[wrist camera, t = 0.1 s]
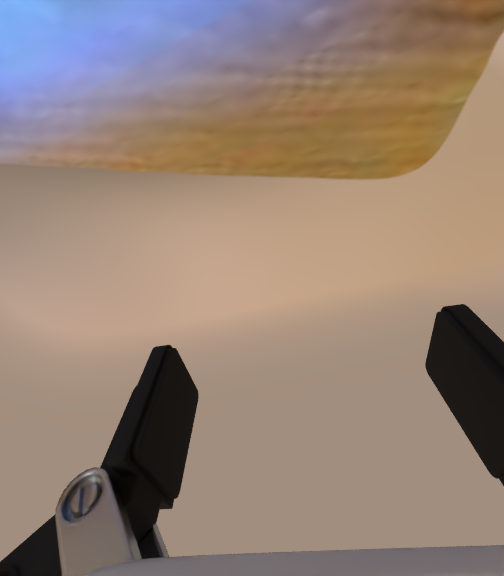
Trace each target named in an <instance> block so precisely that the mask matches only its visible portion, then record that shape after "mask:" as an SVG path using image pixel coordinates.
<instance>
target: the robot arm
mask: <svg viewBox="0 0 504 576" xmlns="http://www.w3.org/2000/svg"><path fill="white" fill-rule="evenodd" d="M426 370H427V372H428V375H429V376H430V378H431V379H432V381H433V382H434V384H435V386H436V387H437V389H438V391H439V392H440V394H441V395H442V397H443V399H444V400H445V402H446V404H447V405H448V407H449V408H450V410H451V412H452V413H453V415H454V416H455V418H456V419H457V421H458V423H459V424H460V426H461V427H462V429H463V431H464V432H465V434H466V436H467V437H468V439H469V440H470V442H471V444H472V445H473V447H474V449H475V450H476V452H477V453H478V455H479V457H480V458H481V460H482V461H483V463H484V465H485V466H486V468H487V469H488V471H489V472H490V474H491V475H492V476H493V477H495V478H499V479H500V481H501V482H502V484H503V486H504V342H503V341H502V340H501V339H500V338H499V337H498V336H497V335H496V334H495V333H494V332H493V331H492V330H491V329H490V328H489V327H488V326H487V325H486V324H485V323H484V322H483V321H482V320H481V319H480V318H479V317H478V316H477V315H476V314H475V313H474V312H473V311H472V310H471V309H469V307H467V306H466V305H464V304H461V305H453V306H446V307H443V308H442V309H441V312H438V313H437V315H436V318H435V323H434V328H433V332H432V337H431V341H430V346H429V350H428V355H427V359H426ZM197 403H198V390H197V388H196V386H195V384H194V382H193V381H192V378H191V376H190V374H189V372H188V371H187V369H186V367H185V365H184V363H183V361H182V359H181V357H180V355H179V353H178V351H177V350H176V348H172V346H170V345H166V346H159V347H154V348H153V350H152V352H151V354H150V356H149V359H148V361H147V364H146V366H145V368H144V371H143V373H142V375H141V378H140V380H139V383H138V385H137V386H136V387H135V389H134V390H133V392H132V395H131V397H130V399H129V402H128V404H127V406H126V409H125V411H124V413H123V416H122V418H121V420H120V423H119V425H118V427H117V430H116V432H115V434H114V437H113V439H112V441H111V444H110V446H109V449H108V451H107V453H106V455H105V458H104V460H103V463H102V465H101V467H100V468H91V469H88V470H86V471H84V472H82V473H81V474H79V475H78V476H77V477H76V478H74V479H73V480H72V481H71V482H70V484H69V485H68V486H67V488H66V489H65V490H64V491H63V493H62V495H61V497H60V499H59V501H58V504H57V507H56V514H55V515H54V516H53V517H52V518H51V519H49V520H48V521H47V522H46V523H45V524H43V525H42V526H41V527H40V528H39V529H38V530H37V531H36V532H34V533H33V534H32V535H31V536H30V537H29V538H27V539H26V540H25V541H24V542H23V543H22V544H20V545H19V546H18V547H17V548H16V549H15V550H13V551H12V552H11V553H10V554H9V555H8V556H7V557H5V558H4V559H3V560H2V561H1V562H0V576H504V545H492V546H457V547H424V548H392V549H391V548H390V549H361V550H330V551H301V552H273V553H247V554H222V555H198V556H181V557H169V555H168V552H167V549H166V547H165V544H164V542H163V539H162V537H161V534H160V532H159V529H158V526H157V524H156V521H157V517H158V513H159V509H172V507H173V502H174V499H176V498H177V497H178V495H179V492H180V488H181V483H182V478H183V473H184V468H185V462H186V458H187V453H188V448H189V443H190V438H191V433H192V427H193V423H194V417H195V413H196V408H197Z"/></svg>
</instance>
